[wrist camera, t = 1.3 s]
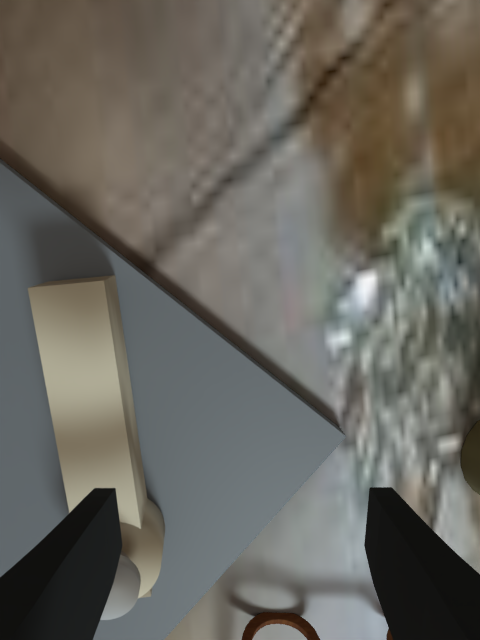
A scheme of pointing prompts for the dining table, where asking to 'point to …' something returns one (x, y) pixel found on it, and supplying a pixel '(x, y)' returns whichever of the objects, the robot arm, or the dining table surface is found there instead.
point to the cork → (472, 458)
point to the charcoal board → (146, 416)
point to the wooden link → (98, 420)
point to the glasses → (286, 619)
